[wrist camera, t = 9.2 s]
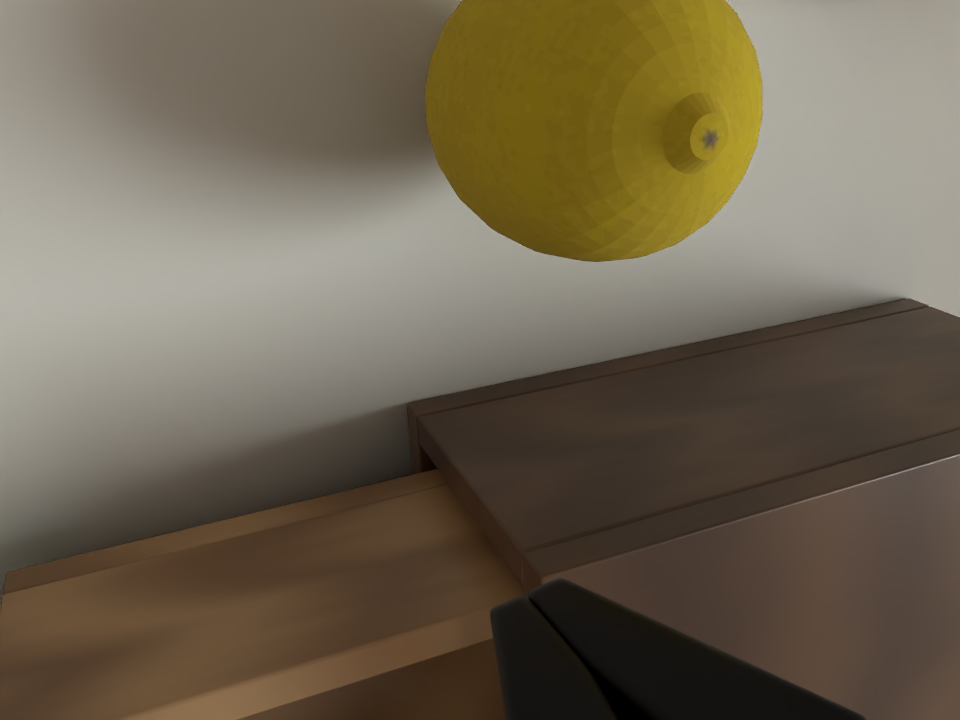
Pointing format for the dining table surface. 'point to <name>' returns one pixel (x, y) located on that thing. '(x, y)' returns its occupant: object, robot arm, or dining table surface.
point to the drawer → (268, 617)
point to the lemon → (594, 119)
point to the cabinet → (743, 495)
